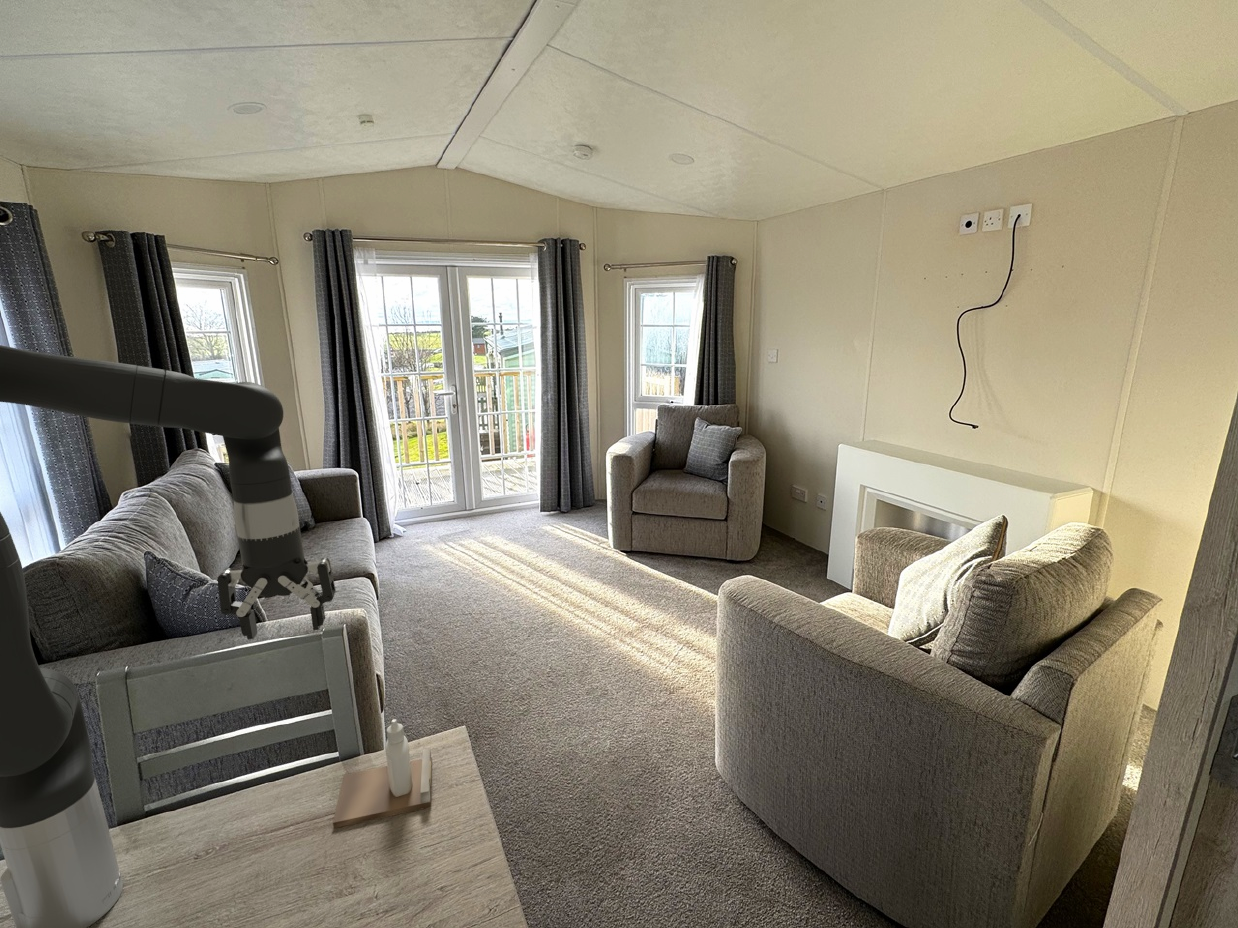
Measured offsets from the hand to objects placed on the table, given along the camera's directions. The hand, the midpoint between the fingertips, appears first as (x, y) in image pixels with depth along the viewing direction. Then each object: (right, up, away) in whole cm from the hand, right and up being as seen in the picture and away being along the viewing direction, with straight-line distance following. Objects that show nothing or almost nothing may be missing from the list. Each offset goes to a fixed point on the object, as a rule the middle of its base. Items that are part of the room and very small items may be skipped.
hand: (285, 632), depth 86 cm
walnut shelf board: (+11, -29, +9) cm, 32 cm away
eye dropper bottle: (+13, -28, +10) cm, 32 cm away
